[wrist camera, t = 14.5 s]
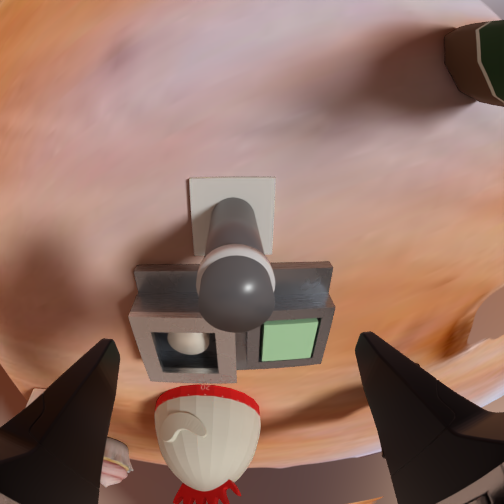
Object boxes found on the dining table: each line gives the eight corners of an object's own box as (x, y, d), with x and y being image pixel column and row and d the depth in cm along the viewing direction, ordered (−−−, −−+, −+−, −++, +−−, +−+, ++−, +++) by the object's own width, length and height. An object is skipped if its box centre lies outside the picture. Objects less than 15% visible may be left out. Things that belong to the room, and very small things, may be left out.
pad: (271, 252, 22) (271, 254, 22) (194, 253, 22) (194, 255, 22) (274, 176, 20) (275, 177, 19) (189, 177, 19) (189, 178, 19)
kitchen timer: (136, 393, 31) (117, 497, 17) (235, 373, 29) (242, 501, 16) (188, 437, 37) (186, 520, 24) (272, 423, 36) (285, 514, 22)
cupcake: (106, 450, 41) (99, 489, 32) (81, 429, 37) (69, 473, 28) (144, 454, 41) (139, 497, 32) (120, 434, 37) (112, 483, 28)
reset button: (211, 343, 25) (210, 354, 24) (173, 343, 25) (171, 354, 24) (208, 314, 23) (207, 325, 22) (166, 314, 23) (164, 324, 22)
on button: (305, 342, 26) (310, 357, 24) (259, 345, 26) (261, 361, 24) (312, 307, 24) (318, 322, 22) (261, 309, 24) (264, 325, 22)
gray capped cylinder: (258, 194, 20) (283, 266, 11) (257, 240, 21) (276, 334, 13) (207, 195, 20) (189, 268, 11) (209, 241, 21) (197, 336, 12)
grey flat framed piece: (310, 358, 29) (318, 388, 25) (161, 362, 28) (155, 392, 24) (329, 261, 23) (346, 289, 20) (136, 265, 22) (121, 294, 18)
